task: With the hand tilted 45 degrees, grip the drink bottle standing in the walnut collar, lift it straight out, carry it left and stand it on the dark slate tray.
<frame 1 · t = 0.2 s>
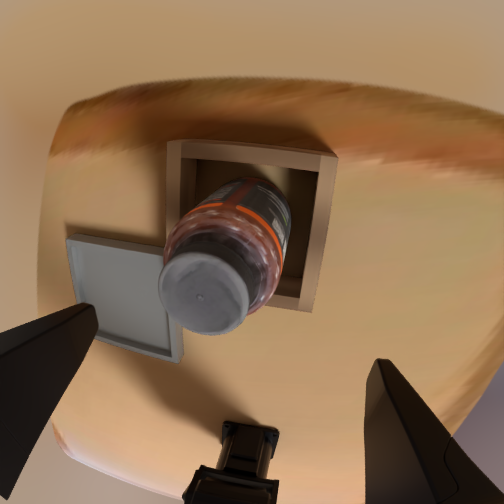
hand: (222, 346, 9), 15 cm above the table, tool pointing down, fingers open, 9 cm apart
slate tray: (127, 295, 28), on the table
supplement bottle: (251, 215, 23), resting in walnut collar
walnut collar: (251, 216, 23), on the table
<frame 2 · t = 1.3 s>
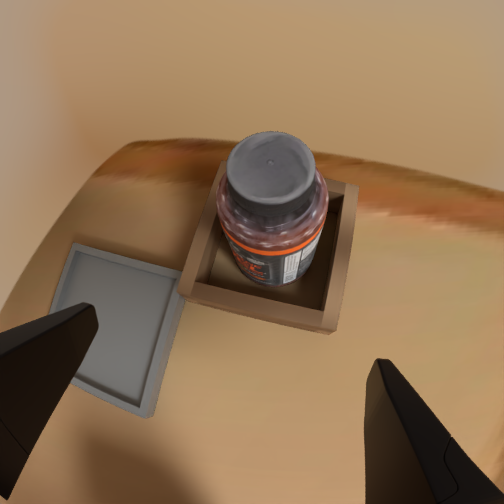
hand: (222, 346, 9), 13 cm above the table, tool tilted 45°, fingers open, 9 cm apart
slate tray: (110, 326, 23), on the table
supplement bottle: (274, 252, 24), resting in walnut collar
walnut collar: (274, 251, 24), on the table
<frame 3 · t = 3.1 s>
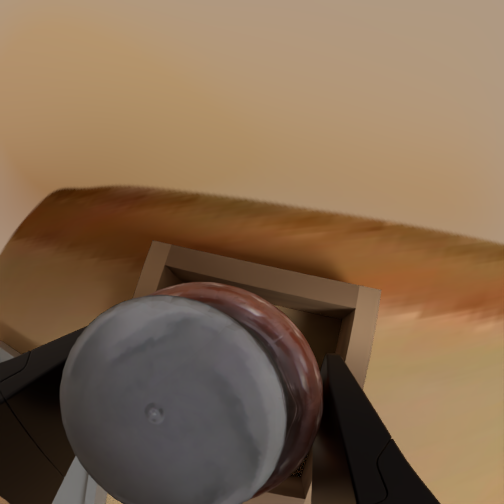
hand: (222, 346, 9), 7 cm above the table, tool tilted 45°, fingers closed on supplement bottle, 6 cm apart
slate tray: (38, 447, 14), on the table
supplement bottle: (239, 382, 15), resting in walnut collar, touching gripper
walnut collar: (239, 382, 15), on the table
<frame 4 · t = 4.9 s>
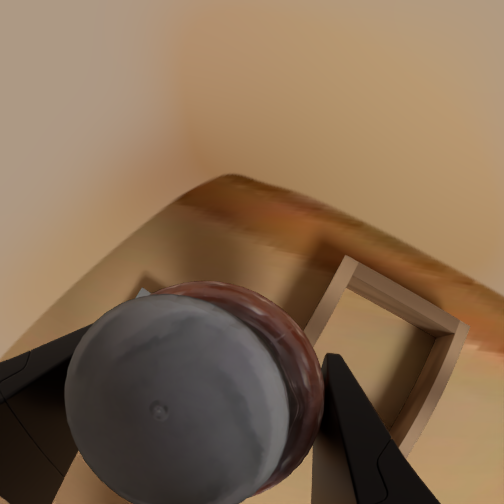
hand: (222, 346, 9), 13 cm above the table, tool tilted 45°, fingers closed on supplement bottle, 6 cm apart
supplement bottle: (241, 380, 15), point 6 cm above the table, touching gripper
walnut collar: (366, 365, 20), on the table
when the fingers open (9 cm above the table, at t = 6.6 s): supplement bottle drops 1 cm, resting on slate tray.
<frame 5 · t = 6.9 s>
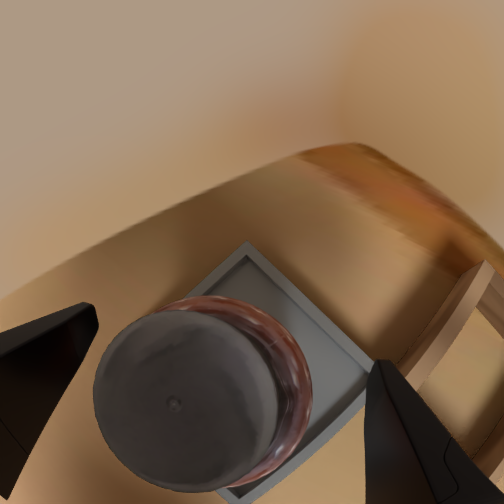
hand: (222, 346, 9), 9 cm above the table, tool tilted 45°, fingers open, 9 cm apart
slate tray: (245, 380, 17), on the table
supplement bottle: (242, 383, 16), point 1 cm above the table, touching slate tray
walnut collar: (469, 385, 15), on the table
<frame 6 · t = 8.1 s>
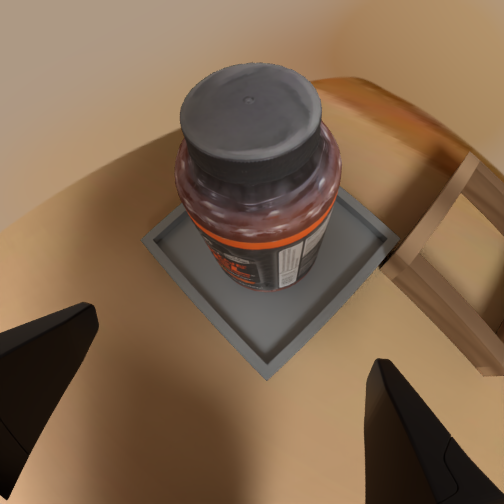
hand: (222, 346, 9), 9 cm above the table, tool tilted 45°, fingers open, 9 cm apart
slate tray: (269, 247, 19), on the table
supplement bottle: (267, 246, 19), point 1 cm above the table, touching slate tray
walnut collar: (475, 267, 18), on the table
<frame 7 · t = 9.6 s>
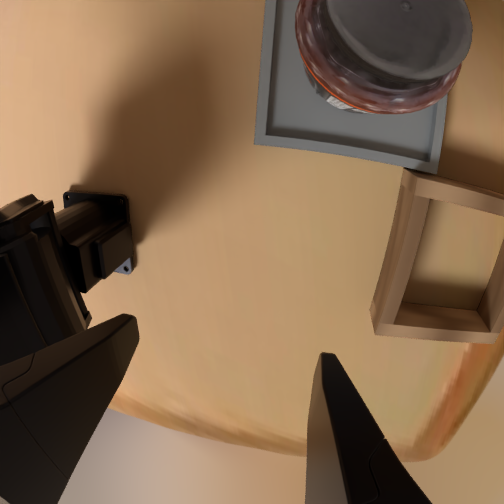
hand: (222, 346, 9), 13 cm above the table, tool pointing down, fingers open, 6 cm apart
slate tray: (356, 67, 16), on the table
supplement bottle: (354, 66, 15), point 1 cm above the table, touching slate tray
walnut collar: (452, 255, 19), on the table
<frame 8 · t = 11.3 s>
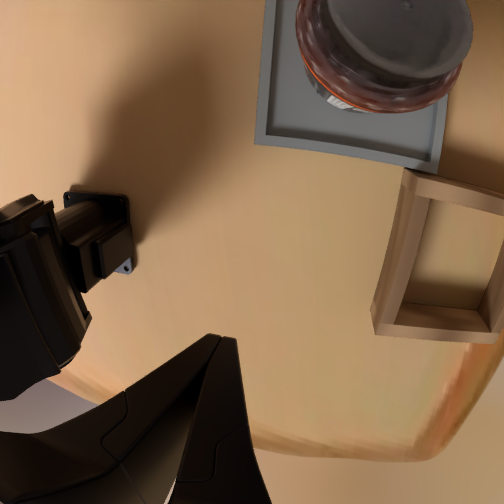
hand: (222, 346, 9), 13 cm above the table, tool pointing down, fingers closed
slate tray: (356, 67, 16), on the table
supplement bottle: (354, 66, 15), point 1 cm above the table, touching slate tray
walnut collar: (453, 255, 19), on the table
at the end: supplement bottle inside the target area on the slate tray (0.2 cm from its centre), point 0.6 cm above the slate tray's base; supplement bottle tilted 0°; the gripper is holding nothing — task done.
